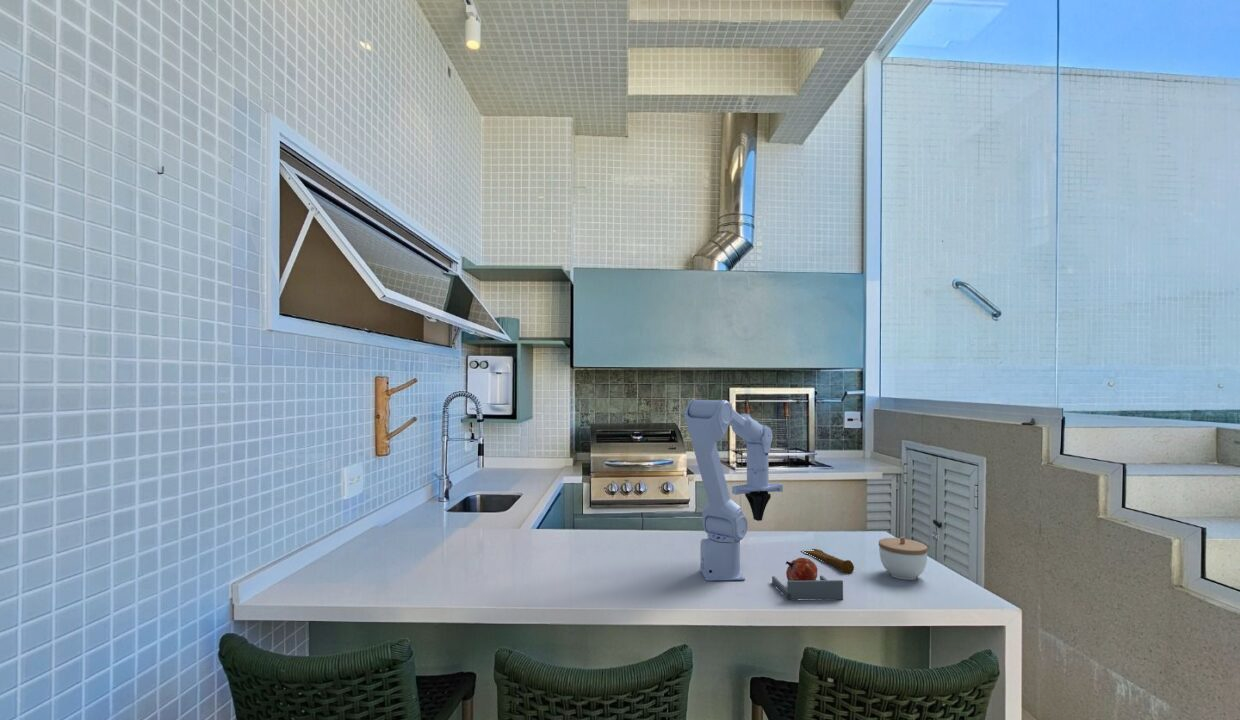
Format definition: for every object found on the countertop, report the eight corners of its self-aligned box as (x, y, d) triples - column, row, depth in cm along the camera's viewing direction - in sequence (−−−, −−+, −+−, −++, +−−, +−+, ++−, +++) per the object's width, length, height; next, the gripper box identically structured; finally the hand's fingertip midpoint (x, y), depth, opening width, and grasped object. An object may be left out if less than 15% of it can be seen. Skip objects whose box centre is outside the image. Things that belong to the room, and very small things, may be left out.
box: (788, 600, 119) (788, 581, 120) (772, 582, 130) (772, 565, 130) (843, 599, 120) (842, 580, 120) (822, 581, 131) (822, 564, 131)
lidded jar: (870, 569, 140) (869, 531, 141) (909, 567, 141) (908, 530, 142) (896, 584, 130) (895, 544, 130) (938, 582, 131) (937, 542, 131)
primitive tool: (799, 552, 155) (799, 540, 155) (816, 551, 156) (816, 539, 156) (843, 576, 136) (842, 561, 136) (862, 574, 138) (862, 560, 138)
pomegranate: (809, 593, 130) (774, 565, 131) (829, 570, 128) (794, 543, 130) (813, 609, 122) (776, 579, 124) (834, 585, 121) (797, 556, 122)
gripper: (741, 472, 143) (741, 525, 142) (789, 470, 147) (789, 521, 147) (728, 468, 149) (728, 519, 149) (774, 466, 154) (774, 515, 153)
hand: (757, 519), depth 148 cm, fingers closed
